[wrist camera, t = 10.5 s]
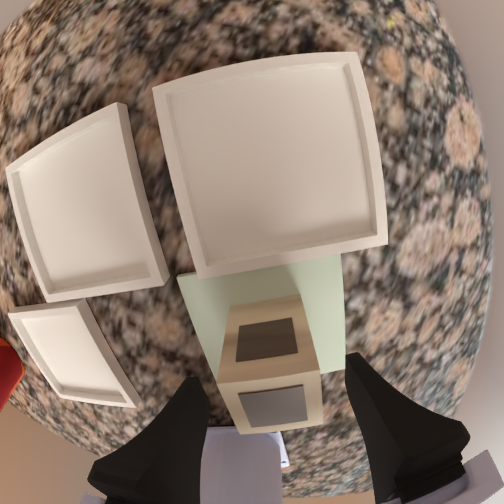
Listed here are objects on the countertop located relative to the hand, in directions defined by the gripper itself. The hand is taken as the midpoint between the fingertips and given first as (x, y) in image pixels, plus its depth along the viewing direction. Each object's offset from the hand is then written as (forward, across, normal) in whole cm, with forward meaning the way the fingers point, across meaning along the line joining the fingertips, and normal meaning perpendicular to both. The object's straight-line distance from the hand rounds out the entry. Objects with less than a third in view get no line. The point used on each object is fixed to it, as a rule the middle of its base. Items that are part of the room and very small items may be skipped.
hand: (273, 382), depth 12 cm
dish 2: (+5, +17, +1) cm, 18 cm away
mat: (+4, 0, 0) cm, 5 cm away
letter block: (+4, 0, 0) cm, 4 cm away
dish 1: (+4, +10, -10) cm, 15 cm away
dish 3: (+4, -2, -10) cm, 11 cm away
